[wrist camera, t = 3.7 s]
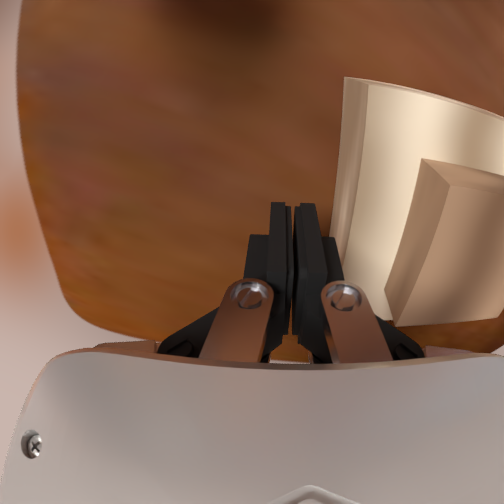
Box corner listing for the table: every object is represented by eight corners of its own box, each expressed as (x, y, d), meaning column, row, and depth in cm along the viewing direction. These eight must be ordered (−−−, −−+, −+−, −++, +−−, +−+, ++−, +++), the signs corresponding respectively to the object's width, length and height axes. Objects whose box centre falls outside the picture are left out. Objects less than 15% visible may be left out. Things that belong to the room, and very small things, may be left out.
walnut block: (526, 182, 9) (554, 207, 7) (481, 287, 13) (497, 317, 11) (421, 157, 9) (450, 184, 7) (383, 289, 14) (395, 326, 12)
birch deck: (518, 124, 10) (560, 149, 7) (468, 274, 17) (489, 312, 14) (344, 76, 11) (368, 84, 8) (323, 272, 18) (329, 321, 15)
